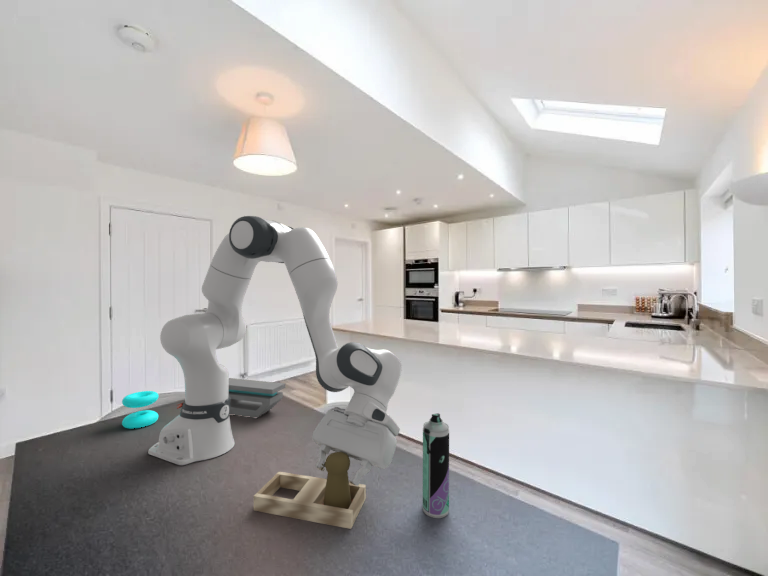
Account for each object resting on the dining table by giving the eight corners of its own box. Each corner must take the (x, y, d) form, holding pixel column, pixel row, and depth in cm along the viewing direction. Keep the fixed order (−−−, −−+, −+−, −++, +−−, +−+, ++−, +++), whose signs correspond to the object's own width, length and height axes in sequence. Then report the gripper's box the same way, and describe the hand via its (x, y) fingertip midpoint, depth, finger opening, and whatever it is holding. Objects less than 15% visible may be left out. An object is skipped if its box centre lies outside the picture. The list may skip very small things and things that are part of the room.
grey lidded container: (285, 412, 123) (285, 383, 123) (272, 420, 115) (272, 389, 115) (229, 405, 130) (229, 377, 130) (213, 413, 123) (214, 383, 122)
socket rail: (253, 510, 69) (253, 496, 69) (278, 484, 78) (278, 471, 78) (351, 529, 64) (351, 513, 64) (365, 498, 73) (365, 484, 73)
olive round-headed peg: (347, 519, 66) (347, 464, 66) (318, 514, 67) (318, 460, 67) (355, 499, 72) (355, 449, 72) (328, 496, 73) (329, 446, 73)
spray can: (443, 522, 66) (443, 421, 66) (418, 512, 69) (418, 415, 69) (452, 506, 71) (453, 412, 71) (429, 497, 73) (429, 407, 73)
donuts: (159, 388, 119) (157, 396, 111) (159, 416, 119) (157, 426, 111) (124, 392, 114) (119, 401, 106) (124, 421, 114) (119, 432, 106)
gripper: (324, 399, 81) (293, 455, 73) (395, 417, 70) (367, 487, 62) (337, 411, 85) (308, 466, 77) (406, 431, 73) (381, 498, 65)
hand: (335, 476), depth 69 cm, fingers open, 8 cm apart
